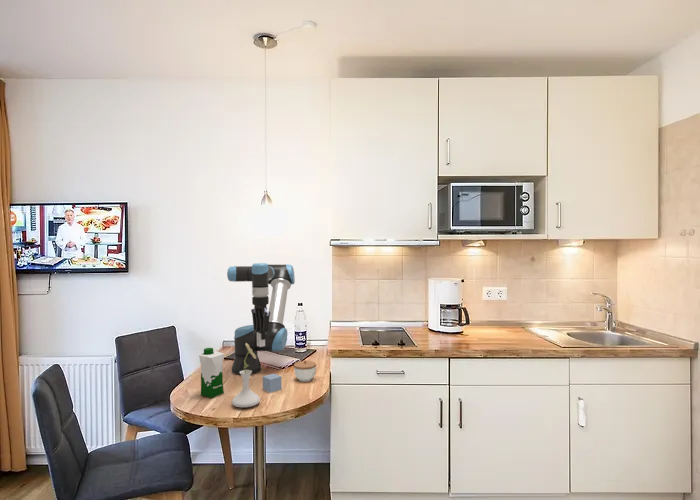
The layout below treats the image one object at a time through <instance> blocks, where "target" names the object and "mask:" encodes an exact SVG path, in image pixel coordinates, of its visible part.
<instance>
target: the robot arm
mask: <svg viewBox="0 0 700 500" xmlns="http://www.w3.org/2000/svg"><path fill="white" fill-rule="evenodd" d="M226 271H227V273H226V275H227V280H228V281H229V282H234V283H235V282H236V283H237V282H240V283H241V282H251V288H252V289H251V292H252V293H251V295H252V298H251V299H252V302H251V303H252V305H253V306H254V307H253V308H252V309H251V310H250V311H251V314H252V324H249V325H248V324H247V325H244V326H241V327H240V326H239V327H237V328H236V329H234V330H235V331H234V337H233V339H234V358H233V362H232V365H231V369H230V370H231V374H233V375H239V376H242V375H241V374H240V373H239V372H240V371H242V370H245V368H244V367H245V366H246V365H245V366H244V360H245V358H246V360H245V362H246V364H247V365H249V366H248V367H246V370H251V371H252V372H251V374H250V375H253V374H257V373H259V372H260V371H262V364H261V360H260V358H259V355H258V354H259V353H258V352H281V351H283V350H284V348H285V347H286V344H287V341H288V330H287V328H286V326H285V324H284V317H285V312H286V304H287V298H288V297H287V296H288V290H289V289H291V286H292V285H294V284H295V281H296V280H295V271H294V267H293V265H292V264H287V263H284V264H268V263H266V262H256V263H253V264H252V265H250V266H249V265H248V266H247V265H246V266H243V265H242V266H239V265H238V266H237V265H234V266H229V267H228V269H227V270H226ZM269 285H270V286H271V288H272V291H271V295H270V296H271V297H270V298H269V290H270V289H269ZM269 299H270V301H269ZM267 305H269V308H268V307H267ZM246 343H247V344H248V345H249V347H250V349H252V352H253V353H254V354H255V355H256V359H254V358H253V356H252V355H251V354H250V353H248V349H247V347H246V345H245V344H246ZM247 353H248V355H247ZM246 355H247V357H246Z"/></svg>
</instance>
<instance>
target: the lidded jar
mask: <svg viewBox="0 0 700 500" xmlns="http://www.w3.org/2000/svg"><path fill="white" fill-rule="evenodd" d="M293 368H294V369H293V371H294V375H295V378H297V380H298V381H299V382H303V383H306V382H311V381H312V379H313V378H314V377H315V375H316V372H317V363H316V362H315V361H312V360H302V361H301V360H300V361H297V362H294V363H293Z"/></svg>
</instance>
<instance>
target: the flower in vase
mask: <svg viewBox="0 0 700 500" xmlns="http://www.w3.org/2000/svg"><path fill="white" fill-rule="evenodd" d="M245 345H246V347H247V349H248V353H250V354H251V355H252V356H253V358H254V359H256V355H255V354H254V353H253V352H252V349H250V347H249V345H248V344H247V343H246V344H245ZM248 353H247V355H248ZM247 355H246V357H247ZM245 360H246V358H245ZM245 360H244V366H245V365H246V366H245V367H244V368H245V370H242V371H240V372H239V373H240V374H241V375H240V376H241V377H242V378H241V379H242V389H241V391H240V392H238V393H237V394H236V395H235V396H234V397H233V399H232V401H231V404H232V406H234V407H237V408H251V407H254V406H256V405H258V404H259V402H260V401H261V398H260V396H259V395H258V394H257V393H255V392H254V391H253V390H251V389H250V385H249V383H250V382H249V380H250V376H251V375H252V374H251V372H252V371H251V370H246V367H248V366H249V365H247V364H246V362H245Z"/></svg>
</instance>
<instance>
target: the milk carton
mask: <svg viewBox="0 0 700 500" xmlns="http://www.w3.org/2000/svg"><path fill="white" fill-rule="evenodd" d="M224 357H225V353H223V352H220V351H214V348H213V347H206V348H203V353H200V354H198V358H199V363H200V396H202V397H205V398H209V399H212V398H216V397H218V396H220V395H224V393H225V392H224V391H225V390H224V379H223V378H224V377H223V374H224V373H223V366H224V365H223V362H224Z"/></svg>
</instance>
